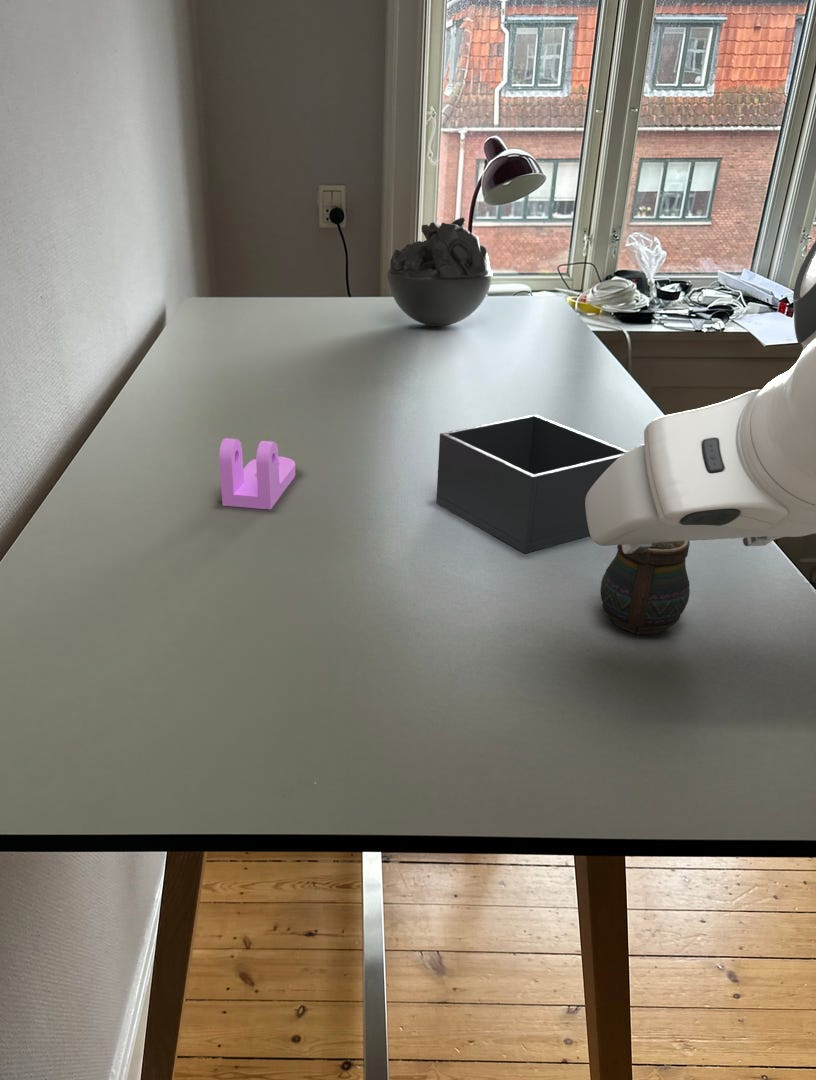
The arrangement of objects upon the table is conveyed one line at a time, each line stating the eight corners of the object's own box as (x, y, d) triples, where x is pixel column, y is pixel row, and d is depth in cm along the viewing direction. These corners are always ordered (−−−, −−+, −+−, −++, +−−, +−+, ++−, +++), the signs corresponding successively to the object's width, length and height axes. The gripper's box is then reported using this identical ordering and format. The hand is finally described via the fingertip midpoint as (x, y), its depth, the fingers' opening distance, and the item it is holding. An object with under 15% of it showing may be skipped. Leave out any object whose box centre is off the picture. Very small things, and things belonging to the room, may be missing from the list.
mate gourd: (679, 650, 75) (704, 538, 70) (585, 633, 77) (602, 524, 72) (685, 610, 81) (709, 504, 76) (598, 595, 83) (614, 492, 78)
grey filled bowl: (421, 341, 168) (425, 229, 159) (367, 320, 184) (369, 218, 174) (509, 329, 176) (519, 222, 167) (451, 310, 191) (457, 212, 182)
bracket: (270, 509, 101) (268, 448, 97) (222, 505, 102) (218, 444, 98) (300, 468, 112) (299, 412, 108) (256, 465, 113) (253, 409, 109)
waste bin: (528, 481, 108) (535, 414, 104) (622, 526, 96) (634, 453, 92) (435, 503, 102) (439, 433, 98) (524, 554, 91) (532, 477, 87)
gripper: (942, 405, 57) (812, 494, 70) (626, 418, 55) (555, 507, 68) (968, 499, 56) (830, 572, 69) (644, 516, 54) (567, 588, 67)
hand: (691, 540), depth 69 cm, fingers open, 8 cm apart
